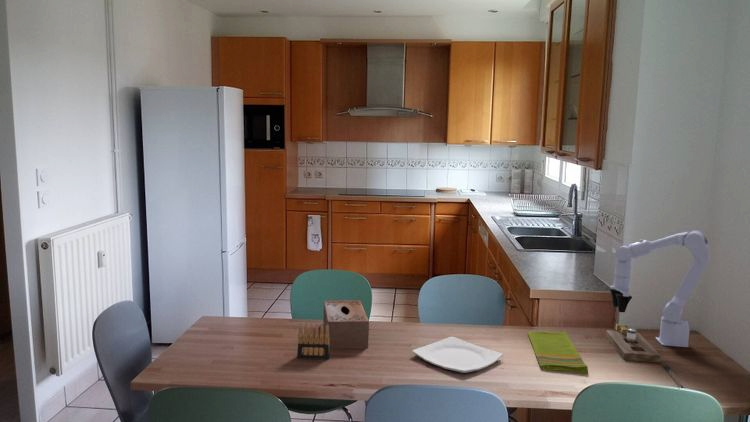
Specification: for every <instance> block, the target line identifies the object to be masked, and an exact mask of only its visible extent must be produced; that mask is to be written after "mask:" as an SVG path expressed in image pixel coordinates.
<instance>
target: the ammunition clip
mask: <svg viewBox="0 0 750 422" xmlns="http://www.w3.org/2000/svg"><path fill="white" fill-rule="evenodd" d="M307 323H308V322H306V323H305V325H304V331H303V323H302V322H300V323H299V327H298V333H297V334H298V335H297V354H296V359H307V360H308V359H309V360H310V359H311V360H330V348H329V326H328V324H327V325H326V329H325V331H324V325H323V323H321V324H320V328H319V324H318V323H316V324H315V326H314V325H313V323H310V326H309V327H308V324H307Z"/></svg>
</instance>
